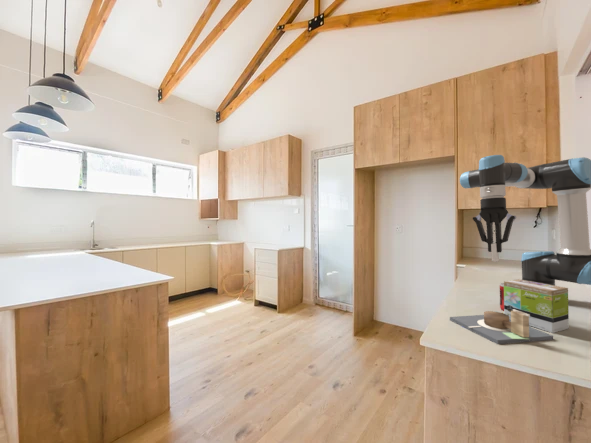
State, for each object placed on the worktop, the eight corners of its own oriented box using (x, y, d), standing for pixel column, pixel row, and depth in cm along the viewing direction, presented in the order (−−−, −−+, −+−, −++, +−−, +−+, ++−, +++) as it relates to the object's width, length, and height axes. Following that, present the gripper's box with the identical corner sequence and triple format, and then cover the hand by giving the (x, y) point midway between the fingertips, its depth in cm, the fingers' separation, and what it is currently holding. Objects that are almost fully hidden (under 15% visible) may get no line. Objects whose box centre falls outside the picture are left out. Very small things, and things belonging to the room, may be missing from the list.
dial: (479, 321, 92) (478, 300, 92) (496, 320, 93) (496, 299, 93) (519, 339, 77) (518, 315, 78) (539, 338, 78) (539, 314, 78)
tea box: (503, 318, 99) (502, 280, 99) (519, 315, 102) (518, 278, 103) (553, 334, 85) (552, 289, 85) (570, 329, 88) (569, 286, 88)
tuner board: (495, 317, 100) (495, 313, 100) (556, 340, 80) (556, 336, 80) (448, 320, 98) (448, 316, 98) (498, 345, 77) (498, 341, 77)
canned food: (529, 314, 103) (529, 287, 103) (507, 313, 104) (506, 286, 104) (517, 308, 110) (516, 283, 110) (496, 307, 112) (495, 282, 112)
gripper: (468, 199, 97) (471, 260, 97) (512, 195, 87) (515, 264, 87) (475, 199, 102) (477, 258, 102) (517, 196, 92) (520, 261, 92)
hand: (495, 260), depth 94 cm, fingers closed
